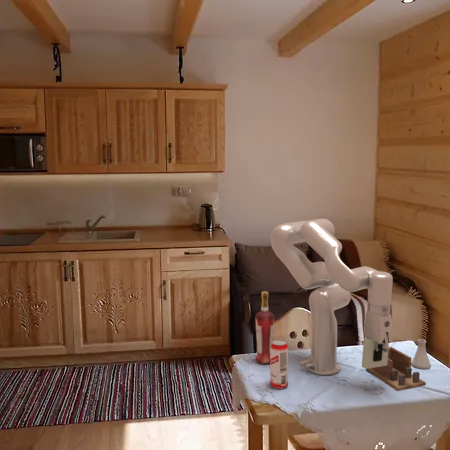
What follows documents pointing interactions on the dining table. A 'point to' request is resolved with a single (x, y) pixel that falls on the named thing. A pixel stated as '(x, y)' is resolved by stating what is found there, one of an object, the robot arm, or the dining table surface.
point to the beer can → (279, 364)
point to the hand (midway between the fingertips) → (374, 358)
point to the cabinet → (397, 371)
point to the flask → (421, 356)
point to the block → (368, 355)
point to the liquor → (264, 331)
